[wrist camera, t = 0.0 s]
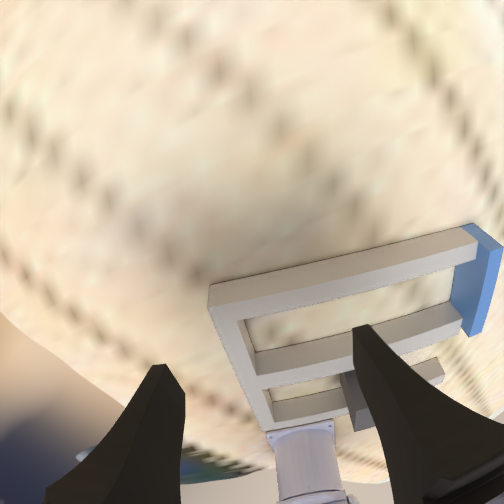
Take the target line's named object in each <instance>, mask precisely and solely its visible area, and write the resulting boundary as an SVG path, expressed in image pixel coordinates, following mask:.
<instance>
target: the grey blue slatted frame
mask: <svg viewBox="0 0 504 504" xmlns="http://www.w3.org/2000/svg"><path fill="white" fill-rule="evenodd" d="M502 253H503V246H502V245H501V244H499V243H498V242H497V241H496V240H494V239H493V238H492V237H491V236H490V235H488V234H487V233H486V232H484V231H483V230H482V229H481V228H479V227H478V226H477V225H475V224H474V223H472V224H468V225H464V226H461V227H457V228H453V229H449V230H445V231H441V232H437V233H433V234H430V235H426V236H422V237H418V238H414V239H410V240H406V241H402V242H398V243H394V244H389V245H385V246H381V247H377V248H373V249H369V250H365V251H360V252H356V253H352V254H348V255H344V256H339V257H335V258H331V259H326V260H322V261H318V262H313V263H309V264H305V265H300V266H296V267H291V268H287V269H282V270H278V271H273V272H269V273H264V274H260V275H255V276H251V277H246V278H241V279H237V280H232V281H227V282H223V283H218V284H213V285H210V288H209V297H208V305H207V309H208V311H209V314H210V316H211V318H212V321H213V323H214V326H215V328H216V330H217V333H218V335H219V337H220V340H221V342H222V344H223V347H224V349H225V351H226V354H227V356H228V358H229V361H230V363H231V365H232V367H233V370H234V372H235V374H236V376H237V378H238V381H239V383H240V385H241V387H242V389H243V392H244V394H245V396H246V398H247V400H248V402H249V405H250V407H251V409H252V411H253V413H254V415H255V417H256V419H257V421H258V423H259V425H260V428H261V430H262V432H263V431H269V430H275V429H281V428H287V427H292V426H298V425H303V424H308V423H312V422H317V421H321V420H326V419H330V418H334V417H338V416H342V415H346V414H349V410H348V407H347V403H346V400H345V396H344V393H343V389H342V388H338V389H334V390H330V391H325V392H321V393H317V394H312V395H308V396H303V397H298V398H293V399H288V400H283V401H278V402H272V400H271V397H270V394H269V391H268V389H270V388H275V387H281V386H286V385H291V384H296V383H300V382H305V381H310V380H314V379H318V378H323V377H327V376H331V375H335V374H339V373H343V372H347V371H350V370H354V365H353V336H352V331H350V332H347V333H343V334H339V335H335V336H331V337H327V338H323V339H318V340H314V341H310V342H305V343H301V344H296V345H292V346H287V347H282V348H277V349H272V350H267V351H262V352H257V353H255V351H254V349H253V346H252V343H251V340H250V337H249V334H248V331H247V328H246V325H245V322H244V319H249V318H254V317H259V316H263V315H268V314H273V313H278V312H282V311H287V310H291V309H296V308H300V307H305V306H309V305H313V304H318V303H322V302H326V301H330V300H334V299H338V298H342V297H346V296H350V295H354V294H358V293H362V292H366V291H370V290H374V289H377V288H381V287H385V286H388V285H392V284H396V283H399V282H403V281H406V280H410V279H413V278H417V277H420V276H423V275H427V274H430V273H433V272H437V271H440V270H443V269H446V268H450V267H453V266H456V267H455V274H454V280H453V286H452V291H451V297H450V301H448V302H445V303H443V304H440V305H437V306H434V307H431V308H428V309H425V310H422V311H419V312H416V313H413V314H409V315H406V316H403V317H400V318H396V319H393V320H390V321H386V322H383V323H380V324H376V325H373V326H371V327H372V328H373V329H374V330H375V332H376V333H377V334H378V335H379V336H380V337H381V338H382V339H383V340H384V342H385V343H386V344H387V345H388V346H389V347H390V348H391V349H392V350H393V351H394V352H395V353H396V354H397V355H398V356H401V355H404V354H407V353H410V352H413V351H416V350H418V349H421V348H424V347H427V346H430V345H432V344H435V343H438V342H440V341H443V340H446V339H448V338H451V337H453V336H456V335H458V334H459V331H460V327H461V328H462V329H463V330H464V332H465V333H466V335H467V336H468V337H471V336H474V335H476V334H478V333H480V332H481V331H482V328H483V325H484V322H485V319H486V316H487V313H488V310H489V306H490V303H491V299H492V295H493V292H494V288H495V284H496V280H497V276H498V271H499V267H500V262H501V258H502ZM411 368H412V369H413V370H414V371H415V372H417V373H418V374H419V375H420V376H421V377H423V378H424V379H425V380H426V381H428V382H429V383H430V384H431V385H433V386H434V385H437V384H439V383H442V382H443V380H444V377H445V372H444V370H443V368H442V367H441V365H440V363H439V361H438V360H437V358H433V359H430V360H428V361H425V362H422V363H419V364H417V365H414V366H411Z"/></svg>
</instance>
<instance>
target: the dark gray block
mask: <svg viewBox="0 0 504 504" xmlns="http://www.w3.org/2000/svg"><path fill="white" fill-rule="evenodd" d="M340 383H341V386H342V389H343V393H344V396H345V400H346V403H347V407H348V410H349V414H350V418H351V421H352V425H353V428H354V432H357V431H360V430H364V429H367V428H371V427H374V426H375V423H374V421H373V418H372V416H371V413H370V411H369V408H368V406H367V403H366V401H365V398H364V396H363V393H362V391H361V388H360V386H359V383H358V379H357V376H356V372H355V369H354V370H350V371H347V372H343V373H340Z"/></svg>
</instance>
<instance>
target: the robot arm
mask: <svg viewBox="0 0 504 504" xmlns="http://www.w3.org/2000/svg"><path fill="white" fill-rule="evenodd" d="M352 336H353V365H354V369H355V372H356V376H357V379H358V383H359V386H360V388H361V391H362V393H363V396H364V398H365V401H366V403H367V406H368V408H369V411H370V413H371V416H372V418H373V421H374V423H375V426H376V428H377V431H378V434H379V437H380V440H381V443H382V447H383V451H384V455H385V459H386V464H387V468H388V473H389V477H390V482H391V487H392V493H393V499H394V504H504V424H501V423H499V422H496V421H494V420H491V419H489V418H487V417H484V416H482V415H480V414H478V413H476V412H474V411H472V410H470V409H469V408H467V407H465V406H463V405H462V404H460V403H458V402H456V401H455V400H453V399H451V398H450V397H448V396H447V395H445V394H444V393H442V392H441V391H440V390H438V389H437V388H435V387H434V386H433V385H431V384H430V383H429V382H428V381H426V380H425V379H424V378H423V377H421V376H420V375H419V374H418V373H417V372H415V371H414V370H413V369H412V368H411V367H410V366H409V365H408V364H407V363H405V362H404V361H403V360H402V359H401V358H400V357H399V356H398V355H397V354H396V353H395V352H394V351H393V350H392V349H391V348H390V347H389V346H388V345H387V344H386V343H385V342H384V340H383V339H382V338H381V337H380V336H379V335H378V334H377V333H376V332H375V330H374V329H373V328H372V327H371V326H370V325H369V324H366V325H362V326H359V327H355V328H352ZM184 424H185V392H184V391H183V389H182V388H181V386H180V385H179V383H178V382H177V380H176V379H175V377H174V376H173V374H172V373H171V371H170V370H169V368H168V366H167V365H166V364H160V365H152V367H151V368H150V370H149V371H148V373H147V375H146V376H145V378H144V379H143V381H142V383H141V384H140V386H139V388H138V389H137V391H136V392H135V394H134V396H133V397H132V399H131V400H130V402H129V404H128V405H127V407H126V408H125V410H124V411H123V413H122V414H121V416H120V417H119V419H118V420H117V421H116V423H115V424H114V426H113V427H112V428H111V430H110V431H109V432H108V434H107V435H106V436H105V437H104V438H103V440H102V441H101V442H100V443H99V444H98V445H97V446H96V448H95V449H94V450H93V451H92V452H91V453H90V454H89V455H88V456H87V457H86V458H85V459H84V460H83V461H82V462H81V463H79V464H78V465H77V466H76V467H75V468H74V469H72V470H71V471H70V472H69V473H68V474H66V475H65V476H64V477H63V478H61V479H59V480H58V481H56V482H55V483H53V484H52V485H50V486H49V487H47V488H46V491H45V495H44V499H43V503H42V504H181V496H180V458H181V449H182V441H183V432H184ZM266 437H267V440H268V442H269V444H270V446H271V448H272V450H273V452H274V454H275V460H276V470H277V480H278V489H279V502H277V504H359V501H358V499H357V497H355V496H353V495H352V494H349V495H347V496H346V493H345V490H343V487H342V483H341V477H340V473H339V468H338V463H337V459H336V454H335V434H334V421H333V420H326V421H322V422H317V423H312V424H308V425H303V426H298V427H292V428H287V429H281V430H275V431H269V432H267V433H266Z"/></svg>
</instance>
